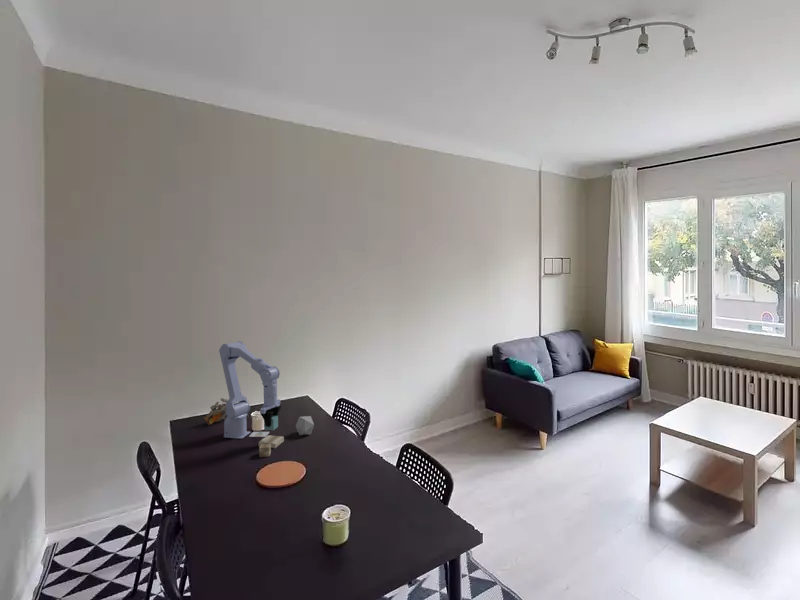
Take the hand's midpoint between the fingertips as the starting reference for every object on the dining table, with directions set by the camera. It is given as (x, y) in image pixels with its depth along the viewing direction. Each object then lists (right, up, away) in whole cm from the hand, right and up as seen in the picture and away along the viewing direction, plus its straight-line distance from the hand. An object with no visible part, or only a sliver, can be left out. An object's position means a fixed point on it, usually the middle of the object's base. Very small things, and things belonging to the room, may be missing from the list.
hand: (271, 424), depth 189 cm
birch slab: (0, -9, +1) cm, 9 cm away
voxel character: (-33, -8, +26) cm, 43 cm away
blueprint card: (-9, -8, +11) cm, 17 cm away
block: (+1, -10, -11) cm, 15 cm away
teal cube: (0, -2, 0) cm, 2 cm away
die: (+13, -8, +12) cm, 20 cm away
